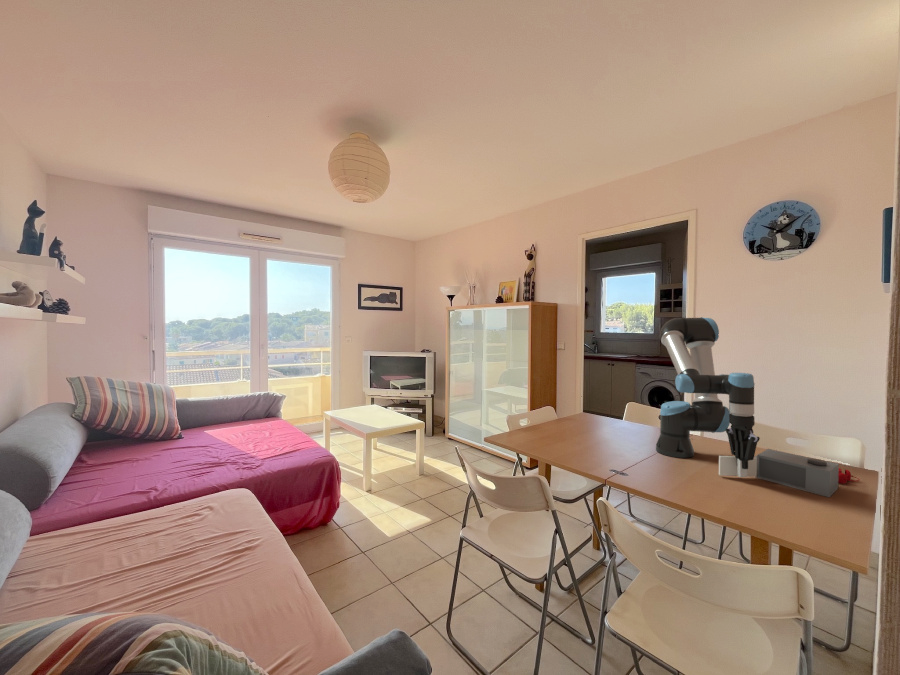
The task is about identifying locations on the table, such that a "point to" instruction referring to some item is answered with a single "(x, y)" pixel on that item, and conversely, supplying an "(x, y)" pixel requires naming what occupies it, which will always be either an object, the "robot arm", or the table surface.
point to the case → (799, 472)
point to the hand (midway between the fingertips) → (742, 476)
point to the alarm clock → (845, 477)
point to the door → (731, 469)
